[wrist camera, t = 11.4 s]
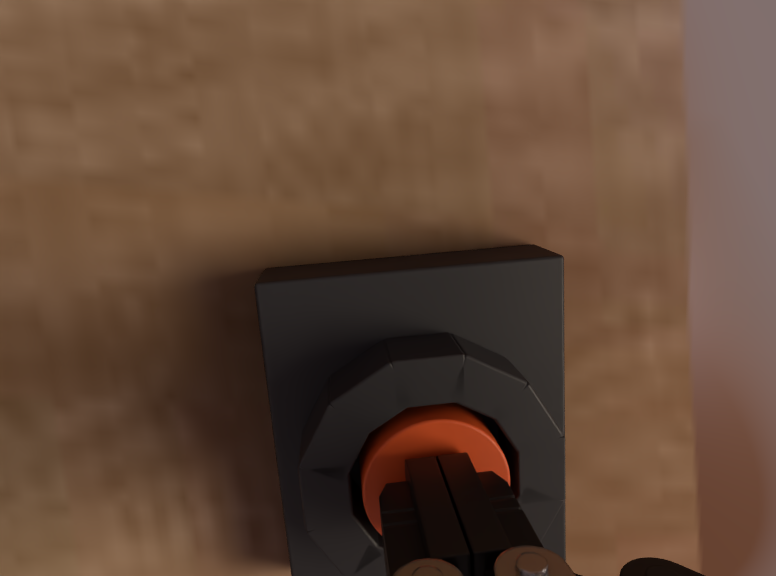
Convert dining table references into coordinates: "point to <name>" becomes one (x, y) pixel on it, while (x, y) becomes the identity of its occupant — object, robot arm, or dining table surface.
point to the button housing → (409, 381)
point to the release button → (424, 447)
